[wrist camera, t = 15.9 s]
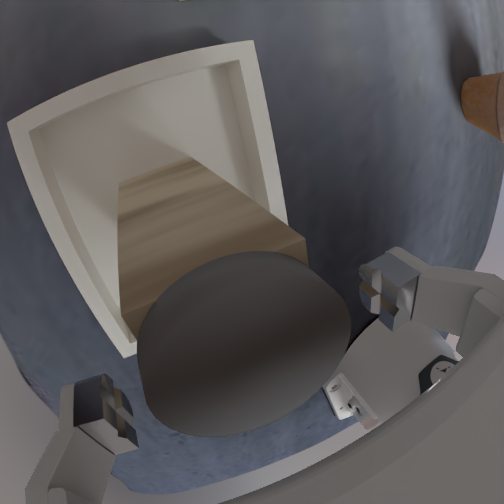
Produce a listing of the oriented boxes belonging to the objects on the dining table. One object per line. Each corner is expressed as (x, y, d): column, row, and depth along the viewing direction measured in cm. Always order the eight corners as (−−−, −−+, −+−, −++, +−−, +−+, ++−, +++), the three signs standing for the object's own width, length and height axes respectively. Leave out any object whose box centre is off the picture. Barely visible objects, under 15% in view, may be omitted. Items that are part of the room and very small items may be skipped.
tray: (277, 265, 24) (297, 285, 21) (120, 330, 21) (124, 358, 18) (233, 49, 15) (253, 39, 13) (24, 119, 12) (6, 122, 10)
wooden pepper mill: (217, 226, 19) (347, 380, 9) (141, 256, 18) (194, 454, 7) (195, 148, 17) (351, 238, 6) (109, 179, 15) (95, 348, 5)
